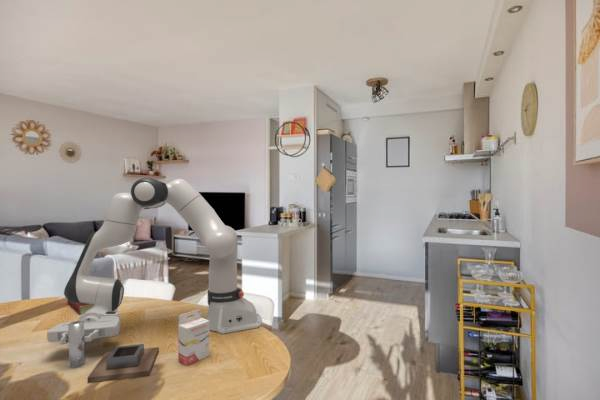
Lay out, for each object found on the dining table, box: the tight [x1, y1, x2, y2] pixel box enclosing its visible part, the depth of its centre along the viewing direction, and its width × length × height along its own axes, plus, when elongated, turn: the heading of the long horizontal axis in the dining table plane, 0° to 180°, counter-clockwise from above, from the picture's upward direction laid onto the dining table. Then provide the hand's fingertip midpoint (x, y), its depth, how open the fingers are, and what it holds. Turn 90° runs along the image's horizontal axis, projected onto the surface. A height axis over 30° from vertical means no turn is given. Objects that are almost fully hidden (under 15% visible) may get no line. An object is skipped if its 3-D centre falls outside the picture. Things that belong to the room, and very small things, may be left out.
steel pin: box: [68, 320, 86, 370], centre depth 104 cm, size 4×4×13 cm
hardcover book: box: [66, 299, 95, 316], centre depth 157 cm, size 12×21×4 cm, turn 46°
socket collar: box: [106, 343, 145, 370], centre depth 103 cm, size 8×8×3 cm
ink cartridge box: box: [177, 308, 210, 367], centre depth 107 cm, size 9×5×15 cm, turn 141°
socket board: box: [86, 346, 160, 384], centre depth 103 cm, size 16×15×2 cm
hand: (75, 340), depth 103 cm, fingers open, 5 cm apart
